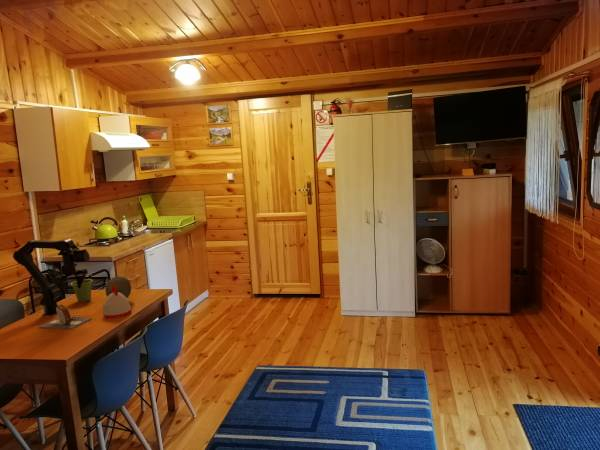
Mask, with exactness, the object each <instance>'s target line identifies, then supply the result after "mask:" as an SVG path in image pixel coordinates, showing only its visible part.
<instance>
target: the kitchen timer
mask: <svg viewBox="0 0 600 450" xmlns="http://www.w3.org/2000/svg"><path fill="white" fill-rule="evenodd" d="M111 290H112V293H111V294H110V295H109V296H108V297H107V296H106V297H107V298H106V300H105V301H104V302H103V303H102V314H103V315H102V316H103V318H104V319H118V318H123V317H127V316H128V315H130V314H131V313H132V307H131V302H130V300H129V299H128V298H126V297H125V296H124V295H123V294H121V293H119V292H117V289H116V287H115V286H112V288H111Z"/></svg>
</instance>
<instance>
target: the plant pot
mask: <svg viewBox="0 0 600 450" xmlns="http://www.w3.org/2000/svg"><path fill="white" fill-rule="evenodd" d="M93 282H94V281H93V279H92V278H91V279H90V278H89V279H88V278H87V279H86V278H84V280H83V283H82V285H81V288H80V289H79V288H78V285H77V280H75V281H73V282H71V283H70V285H71V287H72V289H73V291H74V294H75V297H76V299H77V302H79V303H84V302H86V301H90V300H91V299H92V285H93Z"/></svg>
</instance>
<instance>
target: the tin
mask: <svg viewBox="0 0 600 450" xmlns="http://www.w3.org/2000/svg"><path fill="white" fill-rule="evenodd" d="M56 311H57V313H56V315H57V318H59V320H60V321H61V322H62V323H63V324H65V325H66V324H69V323H71V318H72V317H71V314H70V312H69V310H68V308H67V307H66V306H65V305H63V304H60V305H58V306H57V307H56Z"/></svg>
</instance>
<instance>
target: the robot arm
mask: <svg viewBox="0 0 600 450" xmlns="http://www.w3.org/2000/svg"><path fill="white" fill-rule="evenodd" d="M35 249H49V250H51V249H52V250H55V251H59V252H58V253H57V256H61V260H62V264H63V265H61V267H60V268H54V269H52V273H53V277H52V282H53V283H51V282H49V280H48V279H47V277H46V276H45V275H44V274H43V272H42V271H41V269H40V268H39V267H38V266H37V264H36V263H35V262H34V257H33V254H32V253H33V252H34V251H35ZM12 258H13V260H14V261H15V262H16V263H17V264H18V265H21V266H23V267H24V268H25V269H26V271H27V272H28V274H30V276H31V278H32V279H33V280H34V281H35V282H36V283H37V285H38V286H39V288H40V292H41V295H42V298H41V299H40V300H39V303H40V305H41V306H43V312H44V313H42V316H53V315H57V311H56V307H57V306H59V305H58V300H59V297H60V296H61V289H62V290H63V292H64V294H68V291H69V290H68V289H69V281H68V279H70V278H72V277H74V278H75V279H76V281H77V285H78V288H79V289H80V288H81V285H82V283H83V280H85V279H86V276H87V274H89V273H88V269H86V268H78V269H77V268H76V266H78V263H87V262H90V254H89V251H87V248H83V249H80V248H79V247H78V246H77V245H76V244H75V243H74V241H73V240H72V238H66V239H59V240H39V239H38V240H37V239H31V240H28V241H27V242H26V243H25V244H24V245H23V246H22V247H20V248H18V250H15V251H13V254H12ZM57 284H58V285H59V286H60V287H61V288H59V286H58V285H57Z"/></svg>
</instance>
